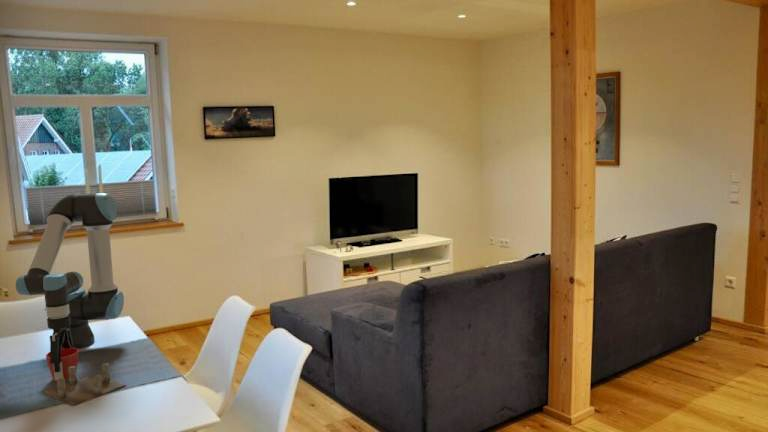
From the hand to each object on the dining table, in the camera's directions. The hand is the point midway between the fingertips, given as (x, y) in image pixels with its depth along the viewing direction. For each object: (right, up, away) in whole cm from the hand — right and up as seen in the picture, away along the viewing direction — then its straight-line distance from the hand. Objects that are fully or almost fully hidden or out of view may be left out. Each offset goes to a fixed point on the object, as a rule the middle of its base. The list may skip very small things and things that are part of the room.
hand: (64, 374), depth 229 cm
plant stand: (+13, -3, -12) cm, 18 cm away
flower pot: (0, -2, 0) cm, 2 cm away
